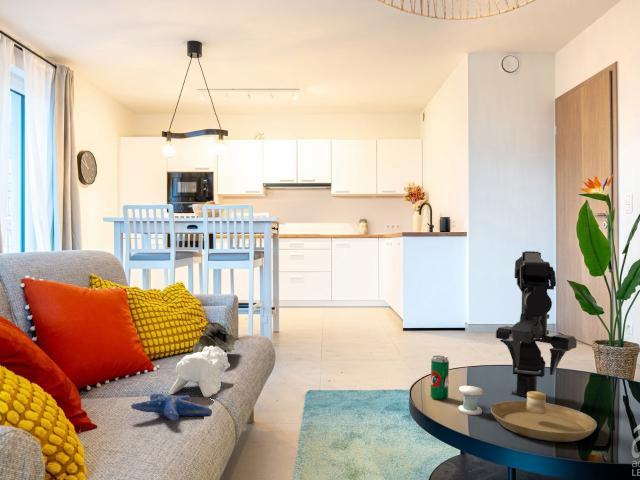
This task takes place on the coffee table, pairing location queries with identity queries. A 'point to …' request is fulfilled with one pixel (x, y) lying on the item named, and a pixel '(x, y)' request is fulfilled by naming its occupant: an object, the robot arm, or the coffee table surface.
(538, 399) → the brass peg
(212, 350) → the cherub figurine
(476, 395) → the white spool
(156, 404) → the starfish
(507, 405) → the plant saucer
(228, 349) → the hollow geode rock
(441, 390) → the soda can
